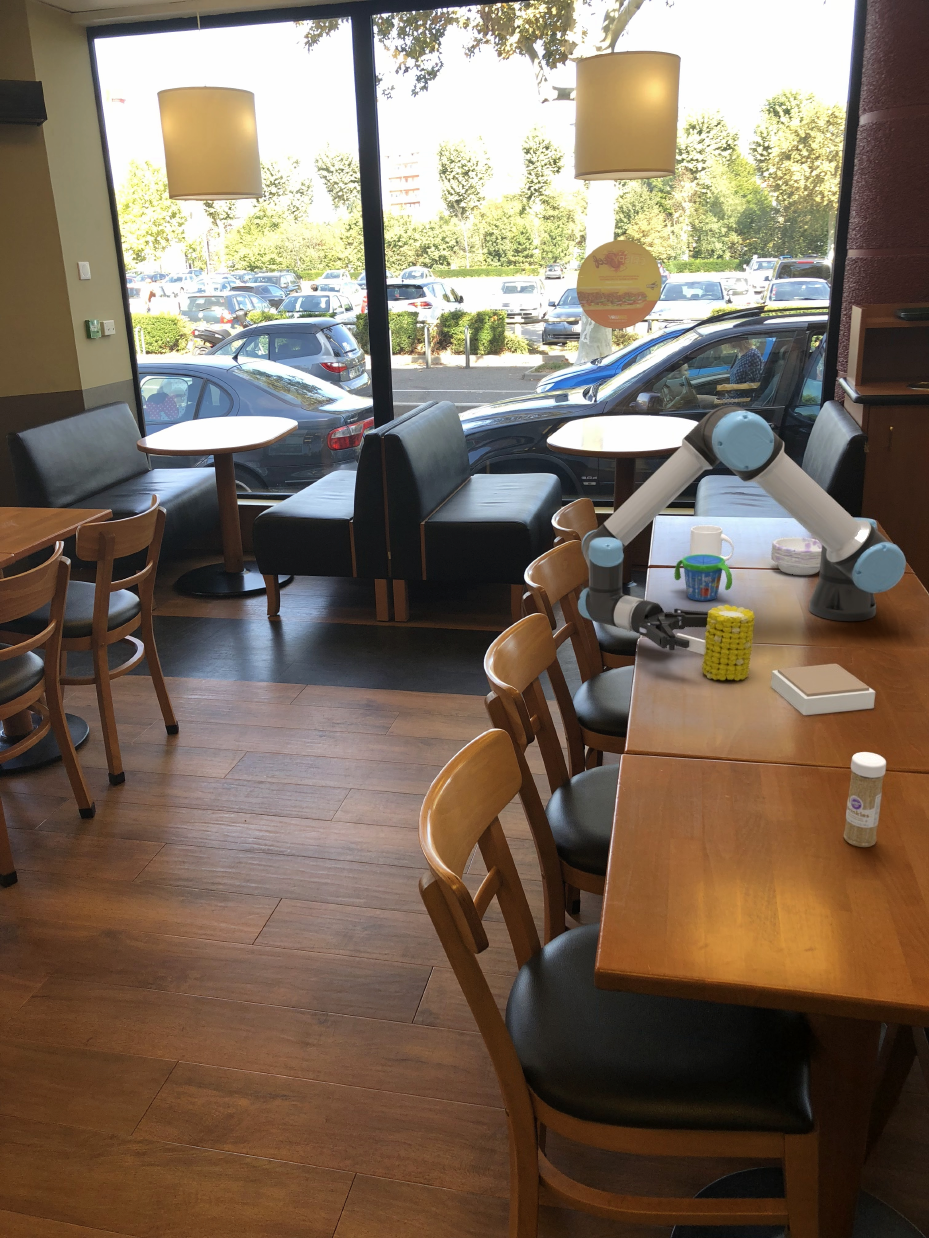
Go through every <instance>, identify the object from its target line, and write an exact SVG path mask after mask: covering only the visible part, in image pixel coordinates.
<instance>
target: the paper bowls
mask: <svg viewBox="0 0 929 1238" xmlns="http://www.w3.org/2000/svg"><path fill="white" fill-rule="evenodd" d="M821 550H822V544H821V543H820V542H819V541H818V540H817V539H816V538H809V537H796V536H795V537H792V536H791V537H781V538H777V539H775V540H773V541H772V543H771V555H770V556H771V560H772V561H773V562H774V563H777V566H778V568H779V570H780V571H781V572H783V573H785V574H788V575H792V574H793V575H794V576H811V575H815V574H817V573H818V572H820V562H821Z"/></svg>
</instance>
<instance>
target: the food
mask: <svg viewBox="0 0 929 1238" xmlns="http://www.w3.org/2000/svg"><path fill="white" fill-rule="evenodd" d="M707 612H708V618H707V626H706V627H705V628H706V631H705V636H704V640H705V641H706V647H705V654H703V658H702V659H703V660H702V667H701V668H702V672H703V674H704V675H705V676H706V678H708V679H713V680H714V681H716V680H717V681H718V680H719V681H725V680H726V679H727V680H731V681H732V680H735V681H739V680H741V681H742V680H745V679H746V678H747V677H749V674H748V673H749V672H750V664H751V655H752V651H753V647H752V644H753V638H754V634H753V633H754V625H755V618H756V616H755V615H754V611H751V610H750V609H748V608H747V609H745V607H743V606H740V607H737V606H735V605H733V606H730V605H729V604H724V605H718V606H717V607H712V608H711V609H710V610H708V611H707Z"/></svg>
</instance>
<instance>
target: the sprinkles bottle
mask: <svg viewBox="0 0 929 1238" xmlns="http://www.w3.org/2000/svg"><path fill="white" fill-rule="evenodd" d="M886 760H887V759H885V757H883V756H881V755H880V754H877V753H874V752H868V751H862V752H861V751H860V752H856V753H855V754H853V756H852V757H851V763H850V770H851V775H850V783H849V791H848V798H847V803H846V812H845V813H846V814H845V819H846V820H845V825H844V832H843V838H844V840H845V841H846V842H847V843H849V844H850V845H852V846H855V847H858V848H859V847H860V848H869V847H872V846H874V845H875V844H876V842H877V831H878V830H877V829H878V825H879V820H880V819H879V817H880V808H881V801H882V793H883V791H882V789H883V781H884V776H885V774H886V769H887V761H886Z"/></svg>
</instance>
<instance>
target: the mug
mask: <svg viewBox="0 0 929 1238" xmlns="http://www.w3.org/2000/svg"><path fill="white" fill-rule="evenodd" d="M690 528H691V529H690V545H689V546H690V547H689V556H690V555H698V554H707V555H715V556H719V557H722V558H723V559H724V560H725V562H727V561H729V560H730V559H731V558H732V557H733V555H734V548H735V547H734V543H733V541H732V539H731V538H729V536H727V535H726V534H724V533H723V528H722V527H721V526H717V525H710V524H708V525H707V524H705V525H704V524H701V525H700V524H699V525H694V526H692V527H690ZM723 542H727V543H728V544H729V545H730V547H731V552H730V554H729V555H727V556H723V555H722V545H723V544H722V543H723Z"/></svg>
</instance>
